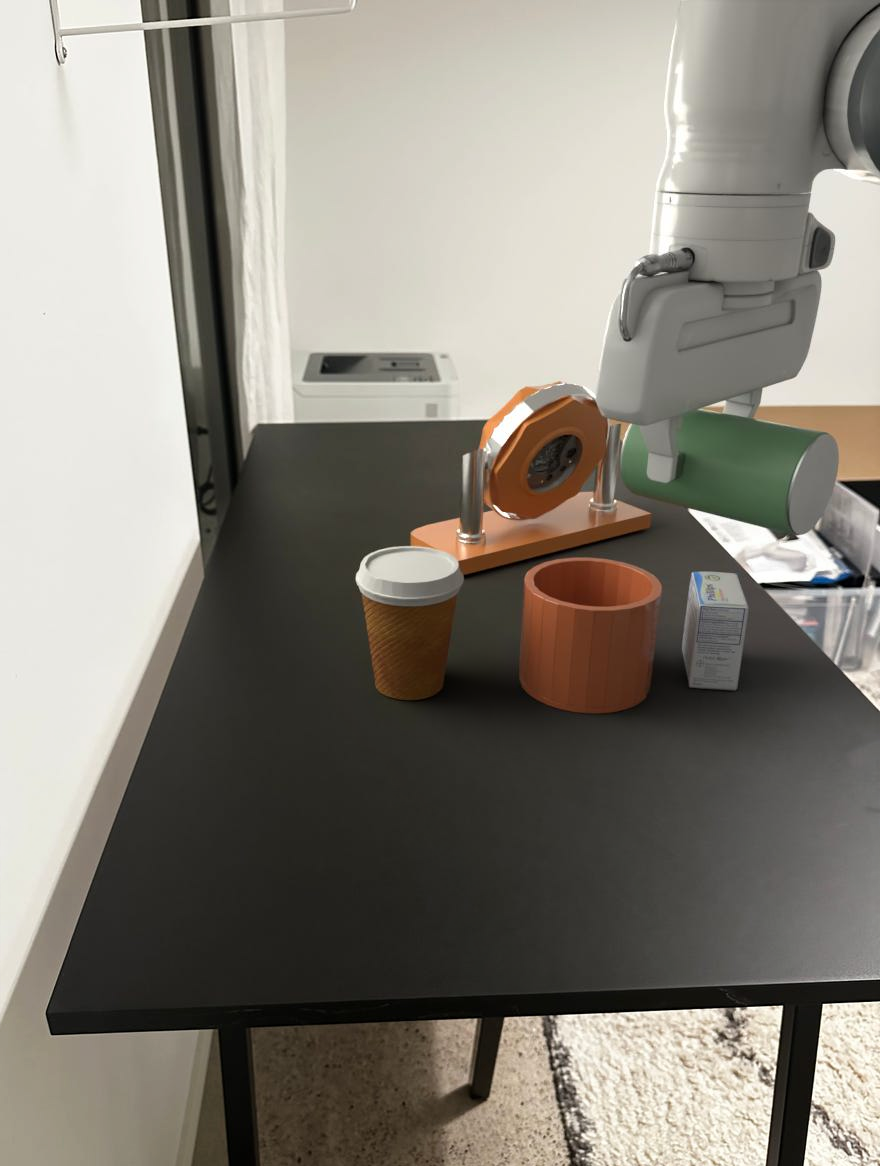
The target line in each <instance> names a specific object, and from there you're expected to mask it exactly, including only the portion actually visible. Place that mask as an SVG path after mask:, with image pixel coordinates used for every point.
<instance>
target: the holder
mask: <svg viewBox="0 0 880 1166" xmlns="http://www.w3.org/2000/svg"><path fill="white" fill-rule="evenodd" d="M662 591H663V585H662V583H661V582H660V580H659V579H658V578H657V577H656V576H655V575H654V574H653V573H651V572H649V571H647V570H645V569H643V568H641V567H639V566H636V565H633V564H630V563H627V562H624V561H618V560H614V559H607V558H599V557H566V558H557V559H553V560H548V561H544V562H542V563H540V564H537V565H535V566H533V567H532V568H531V569H529V570H528V571H527V572H526V574H525V576H524V579H523V593H522V613H521V615H522V616H521V631H520V632H521V633H520V646H519V663H518V664H519V665H518V672H519V673H518V680H519V684H520V686H521V687H522V689H523V690H524V691H525V693H527V695H529V696H530V697H532V698H533V699H535V700H536V701H537V702H540V703H542V704H544V705H547V706H548V707H549V706H550V707H552V708H555V709H558V710H561V711H566V712H571V713H572V712H573V713H579V714H610V713H617V712H620V711H625V710H628V709H631V708H633V707H635V706H637V705H639V704H640V703H642V702H643V701H645V699H646V698H647V697H648V695H649V693H650V690H651V682H652V676H653V675H652V674H653V665H654V658H655V650H656V641H657V634H658V624H659V616H660V608H661V599H662Z"/></svg>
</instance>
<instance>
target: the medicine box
mask: <svg viewBox="0 0 880 1166" xmlns="http://www.w3.org/2000/svg"><path fill="white" fill-rule="evenodd" d="M741 583H742V582H741V580H740V578H739V575H738V573H734V572H733V573H732V572H723V571H692V572H691V575H690V580H689V587H688V595H687V601H686V604H687V605H686V610H685V618H684V625H683V631H682V642H681V653H682V658H683V662H684V668H685V672H686V677H687V681H688V687H689V688H693V689H701V690H703V689H704V690H718V691H732V692H733V691H736V690H737V689H738V686H739V679H740V671H741V664H742V657H743V649H744V644H745V636H746V632H747V631H746V630H747V624H748V617H749V609H750V606H749V604H748V601H747V597H746V595H745V592H744V589H743V586H742V584H741Z"/></svg>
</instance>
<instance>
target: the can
mask: <svg viewBox="0 0 880 1166" xmlns="http://www.w3.org/2000/svg"><path fill="white" fill-rule="evenodd" d="M676 435H677V442H678V449H679V451H680V452H684V453H686V454H685V463H684V465H683V474H682V476H681V477H680V478H678V479H676V480H674V481H671V482H669V483H661V482H657V481H653V480H651V479H650V478H649V477H648V475H647V466H648V456H649V452H648V450H647V447H646V444H645V441H644V438H643V435H642V432H641V429H640V425H635V424H630V423H629V425H628V427H627V430H626V432H625V435H624V437H623V440H622V444H621V449H620V454H619V456H620V457H619V471H620V477H621V480H622V483H623V485H624V487H625V488H626V490H628V491H629V492H630V493H632V494H633V495H636V496H639V497H642V498H646V499H651V500H656V501H659V502H662V503H666V504H669V505H675V506H677V507H678V506H679V507H681V508H682V507H683V508H686V509H690V510H693V511H698V512H701V513H706V514H708V515H709V514H710V515H712V516H717V517H721V518H725V519H728V520H733V521H736V522H740V523H744V524H748V525H753V526H756V527H760V528H764V529H767V530H772V531H776V532H779V533H782V534H783V533H784V534H787V535H791V536H795V537H796V536H803V535H806V534H808V533H809V532H810V531H811V530H812V529H814V527H815V526H817V524H818V523H819V521H820V520H821V518H822V517H823V516H824V513H825V511H826V509H827V507H828V505H829V503H830V500H831V498H832V495H833V492H834V488H835V485H836V482H837V477H838V471H839V463H840V461H839V460H840V457H839V455H840V454H839V446H838V441H837V440H836V438H835V437H834V436H833V435H831V433H828V432H826V431H823V430H817V429H811V428H807V427H806V428H805V427H802V426H801V427H800V426H795V425H789V424H785V423H778V422H774V421H768V420H764V419H757V418H753V419H752V418H747V417H742V416H736V415H731V414H725V413H723V412H721V411H720V412H719V411H714V410H710V409H709V410H708V409H704V408H700V409H697V410H694V411H691V412H688V413H684V414H683V421H682V428H681V430H678V431H676Z"/></svg>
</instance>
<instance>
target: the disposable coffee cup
mask: <svg viewBox="0 0 880 1166" xmlns="http://www.w3.org/2000/svg"><path fill="white" fill-rule="evenodd" d="M464 581H465V577H464V575H463V574H462V572H461V571H460V568H459V564H458V561H457V559H456V558H455V557H453V556H452V555H450V554H449V553H446V552H444V551H441V550H437V549H433V548H428V547H419V546H411V545H402V546H391V547H386V548H383V549H382V548H381V549H377V550H375V551H372V552H370V553H368V554H367V555H366V556H364V557H363V559H362V560H361V562H360V566H359V570H358V571H357V572H356V573H355V583H356V585H357V586H358V589H359V591H360V593H361V597H362V606H363V611H364V618H365V624H366V631H367V637H368V639H367V640H368V644H369V652H370V658H371V664H372V673H373V679H374V686H375V689H377V691H378V692H379V693H381V695H384V696H386V697H389V698H391V699H394V700H395V699H396V700H401V701H417V700H423V699H427V698H430V697H433V696H434V695H436V694H438V693H439V692H440V691H442V689H443V686H444V681H445V674H446V668H447V661H448V656H449V650H450V644H451V636H452V631H453V626H454V625H453V624H454V619H455V613H456V607H457V599H458V594H459V592H460V591H461V587H462V585H463V584H464Z"/></svg>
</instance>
